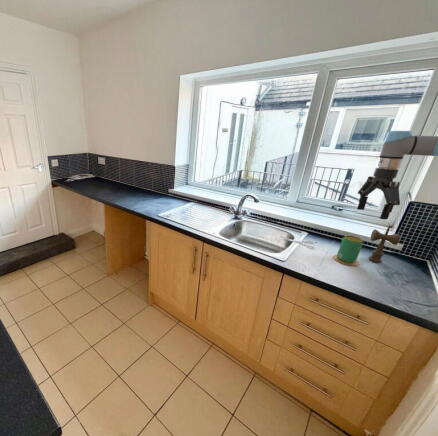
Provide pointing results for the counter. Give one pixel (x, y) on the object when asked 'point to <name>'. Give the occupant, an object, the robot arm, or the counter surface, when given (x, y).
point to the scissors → (302, 243)
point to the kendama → (382, 243)
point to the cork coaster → (346, 262)
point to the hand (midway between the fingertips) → (371, 214)
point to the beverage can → (349, 249)
